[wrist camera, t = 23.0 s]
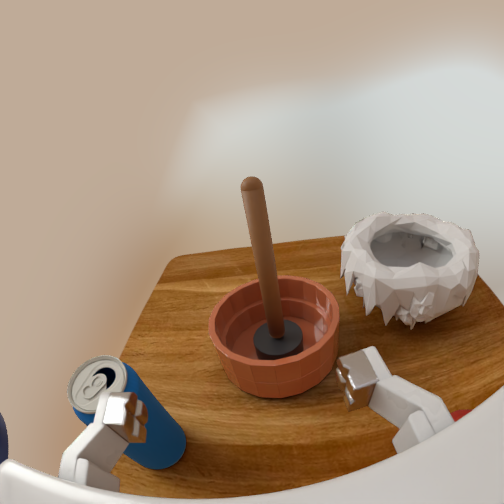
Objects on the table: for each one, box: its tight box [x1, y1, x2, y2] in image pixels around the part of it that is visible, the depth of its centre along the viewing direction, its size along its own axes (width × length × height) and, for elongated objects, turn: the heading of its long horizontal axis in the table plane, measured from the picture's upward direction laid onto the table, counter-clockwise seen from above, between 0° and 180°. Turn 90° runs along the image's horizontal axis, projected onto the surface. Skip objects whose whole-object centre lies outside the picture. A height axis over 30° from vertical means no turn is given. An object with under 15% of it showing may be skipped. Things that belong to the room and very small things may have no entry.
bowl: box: [340, 212, 479, 330], centre depth 32 cm, size 21×20×10 cm
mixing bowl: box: [209, 275, 340, 398], centre depth 30 cm, size 14×14×6 cm
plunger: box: [241, 177, 304, 360], centre depth 26 cm, size 6×6×20 cm
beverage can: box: [67, 355, 186, 469], centre depth 19 cm, size 6×6×12 cm
